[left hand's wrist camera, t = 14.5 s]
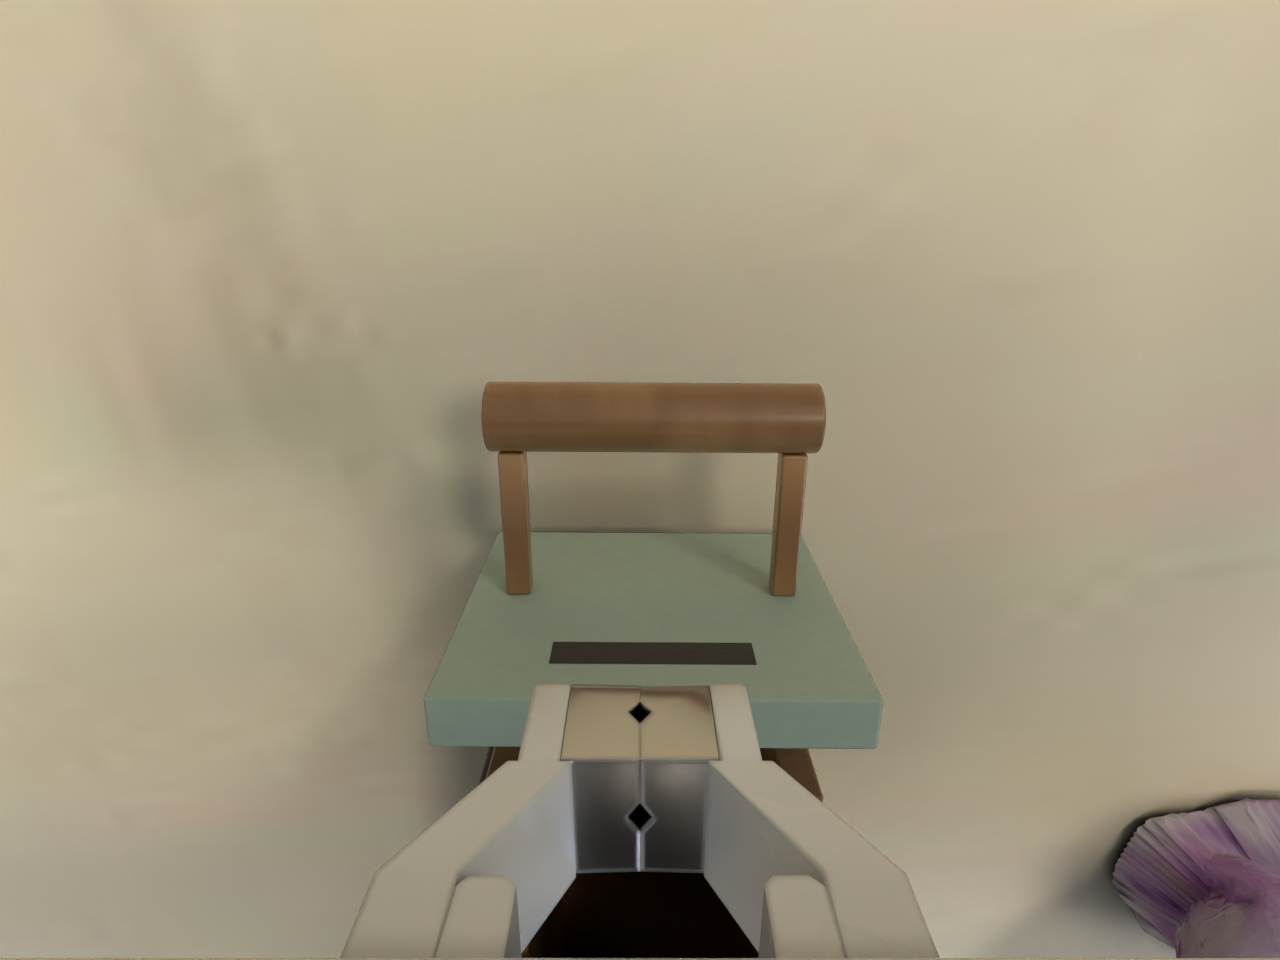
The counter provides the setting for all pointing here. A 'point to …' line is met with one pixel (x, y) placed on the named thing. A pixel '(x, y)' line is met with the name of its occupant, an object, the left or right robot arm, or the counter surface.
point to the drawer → (653, 625)
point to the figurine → (1208, 880)
